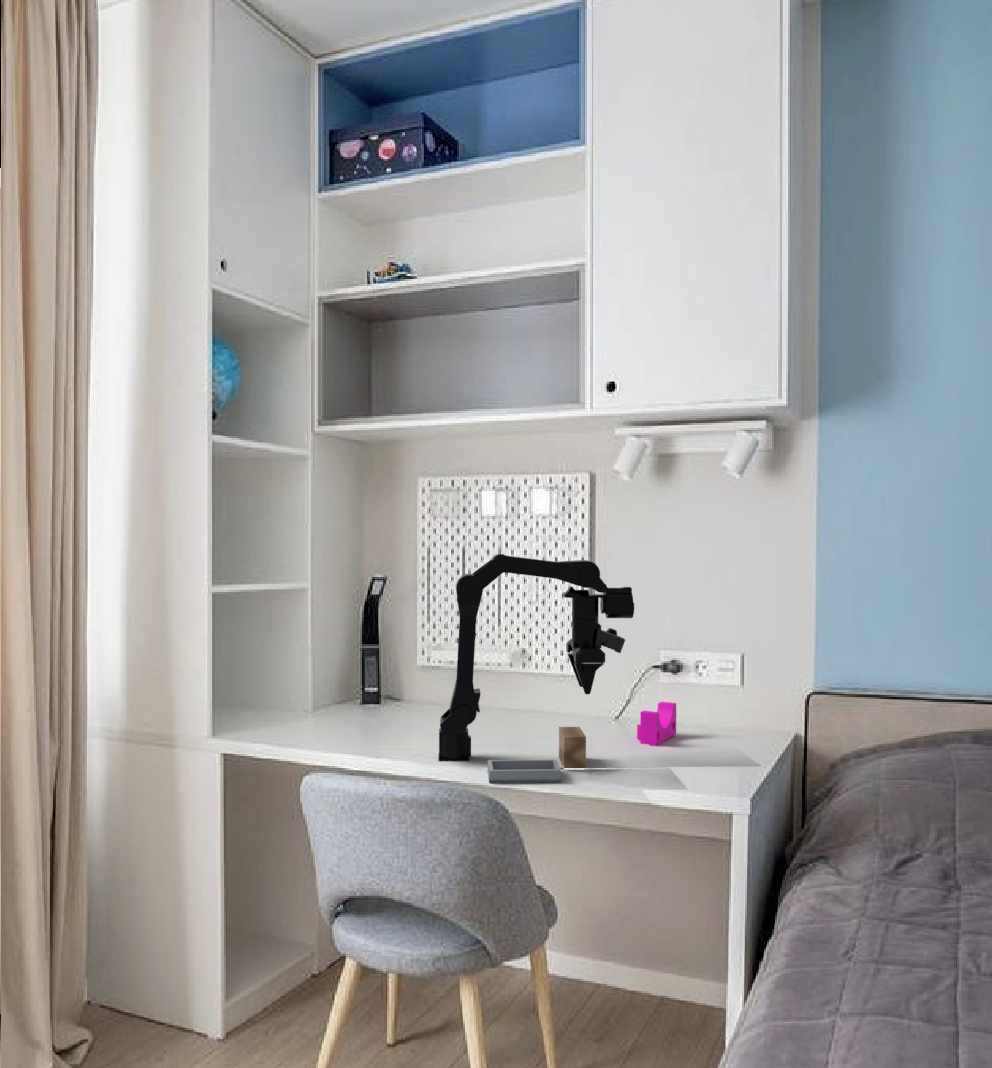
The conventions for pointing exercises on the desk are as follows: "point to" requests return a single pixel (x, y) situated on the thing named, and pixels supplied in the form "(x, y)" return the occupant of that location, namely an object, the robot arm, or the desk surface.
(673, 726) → the toy block
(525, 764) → the slot tray
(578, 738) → the walnut block
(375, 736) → the desk surface
